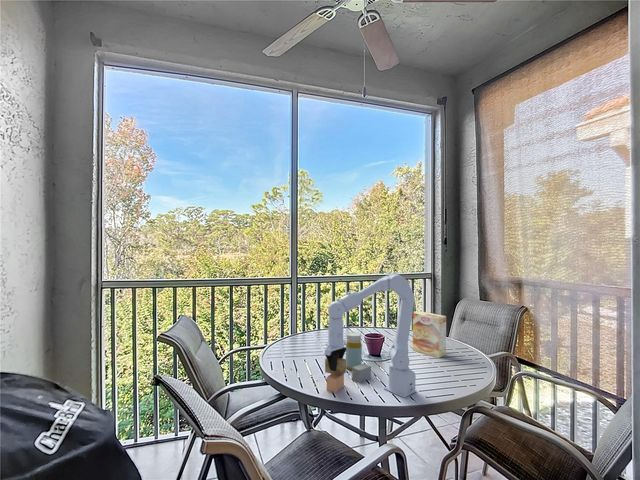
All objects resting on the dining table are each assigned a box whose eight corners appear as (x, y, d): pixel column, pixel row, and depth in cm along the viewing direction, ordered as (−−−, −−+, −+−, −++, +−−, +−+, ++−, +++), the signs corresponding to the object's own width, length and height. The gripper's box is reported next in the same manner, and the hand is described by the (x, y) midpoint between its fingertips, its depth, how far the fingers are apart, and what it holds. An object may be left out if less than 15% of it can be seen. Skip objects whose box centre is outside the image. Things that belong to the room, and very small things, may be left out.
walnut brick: (345, 372, 130) (346, 359, 130) (341, 375, 127) (341, 362, 127) (329, 368, 134) (329, 356, 134) (325, 372, 130) (325, 359, 130)
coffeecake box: (412, 350, 174) (412, 312, 174) (419, 347, 179) (420, 310, 179) (438, 358, 163) (439, 317, 163) (446, 354, 168) (446, 315, 168)
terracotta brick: (334, 383, 134) (334, 370, 134) (343, 385, 132) (343, 372, 132) (326, 390, 128) (326, 377, 128) (336, 392, 126) (336, 379, 126)
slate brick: (363, 375, 143) (363, 363, 143) (370, 378, 140) (371, 366, 140) (352, 379, 138) (352, 367, 138) (359, 382, 135) (359, 370, 135)
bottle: (363, 366, 152) (364, 333, 151) (357, 372, 145) (357, 337, 145) (349, 363, 155) (350, 331, 155) (343, 368, 149) (343, 334, 149)
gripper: (334, 327, 138) (334, 360, 138) (317, 336, 126) (317, 372, 126) (350, 329, 135) (350, 363, 135) (334, 339, 122) (334, 376, 122)
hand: (335, 368), depth 130 cm, fingers closed on walnut brick, 4 cm apart
